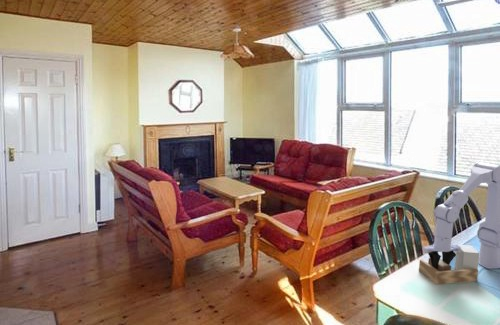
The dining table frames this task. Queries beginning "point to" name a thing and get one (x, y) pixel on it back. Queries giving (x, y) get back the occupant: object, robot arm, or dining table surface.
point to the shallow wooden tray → (447, 274)
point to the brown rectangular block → (441, 265)
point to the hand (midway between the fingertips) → (439, 269)
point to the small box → (466, 258)
